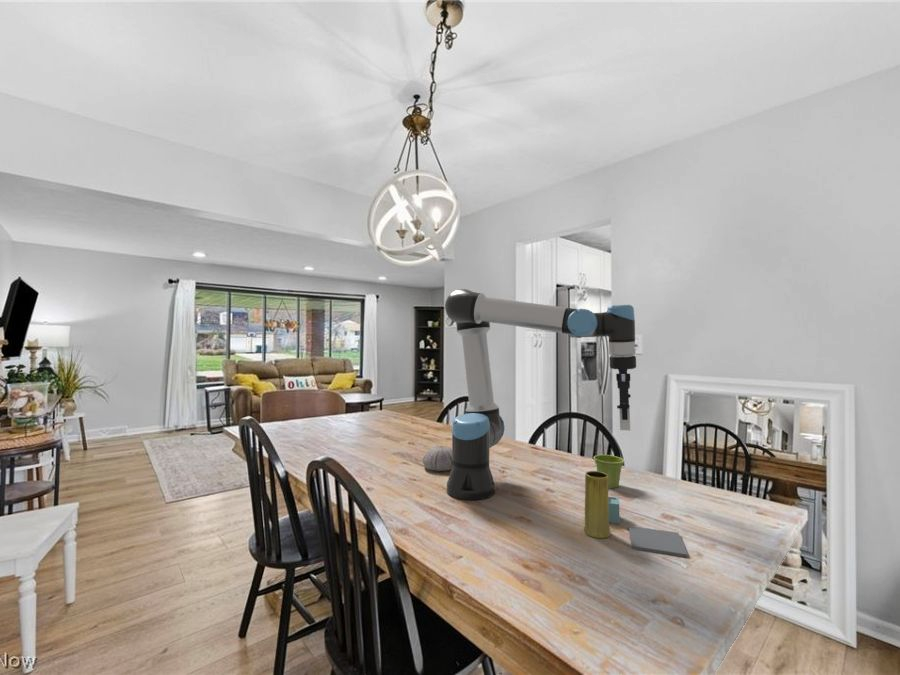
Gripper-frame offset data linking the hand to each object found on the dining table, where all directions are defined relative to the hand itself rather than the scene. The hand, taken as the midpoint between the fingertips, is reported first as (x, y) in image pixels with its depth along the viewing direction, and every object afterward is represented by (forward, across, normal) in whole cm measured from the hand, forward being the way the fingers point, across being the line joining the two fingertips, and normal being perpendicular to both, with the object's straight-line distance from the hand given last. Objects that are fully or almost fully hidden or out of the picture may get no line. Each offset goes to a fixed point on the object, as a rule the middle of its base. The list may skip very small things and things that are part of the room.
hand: (625, 423), depth 126 cm
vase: (+19, -33, +7) cm, 38 cm away
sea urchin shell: (+20, +1, +64) cm, 67 cm away
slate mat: (+19, -32, -6) cm, 38 cm away
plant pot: (+22, +5, +6) cm, 24 cm away
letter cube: (+20, -23, +5) cm, 30 cm away
